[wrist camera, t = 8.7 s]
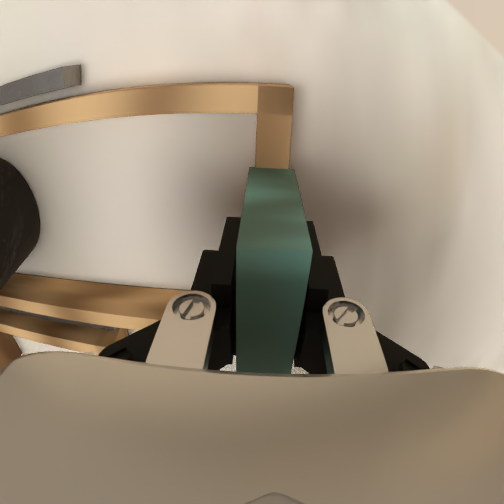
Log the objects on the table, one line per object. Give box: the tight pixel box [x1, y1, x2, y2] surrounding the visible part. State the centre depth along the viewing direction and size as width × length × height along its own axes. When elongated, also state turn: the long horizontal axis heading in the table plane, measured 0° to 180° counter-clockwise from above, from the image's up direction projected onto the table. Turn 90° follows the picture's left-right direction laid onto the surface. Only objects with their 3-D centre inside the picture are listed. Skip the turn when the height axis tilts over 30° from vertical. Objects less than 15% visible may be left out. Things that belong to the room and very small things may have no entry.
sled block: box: [0, 309, 129, 355], centre depth 19 cm, size 22×9×8 cm, turn 88°
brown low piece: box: [0, 82, 313, 374], centre depth 12 cm, size 22×12×8 cm, turn 88°
